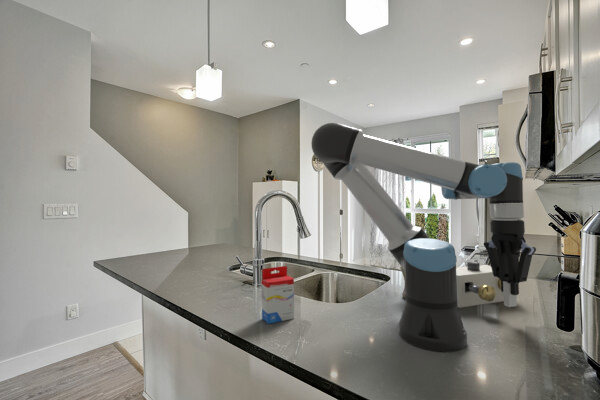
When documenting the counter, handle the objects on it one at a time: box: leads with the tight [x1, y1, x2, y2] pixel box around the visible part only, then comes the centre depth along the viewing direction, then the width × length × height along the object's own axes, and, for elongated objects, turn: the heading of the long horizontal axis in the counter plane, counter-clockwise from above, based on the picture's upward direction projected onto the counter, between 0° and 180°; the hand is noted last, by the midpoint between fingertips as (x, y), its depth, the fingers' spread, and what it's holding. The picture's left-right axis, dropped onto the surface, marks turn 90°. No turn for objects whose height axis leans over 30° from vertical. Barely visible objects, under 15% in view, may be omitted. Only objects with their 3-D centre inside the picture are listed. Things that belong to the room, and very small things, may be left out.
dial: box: [466, 261, 481, 271], centre depth 94 cm, size 4×4×3 cm
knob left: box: [465, 283, 496, 302], centre depth 85 cm, size 4×9×4 cm, turn 16°
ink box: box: [261, 265, 295, 325], centre depth 81 cm, size 8×5×15 cm, turn 117°
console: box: [456, 264, 504, 309], centre depth 94 cm, size 22×9×10 cm, turn 106°
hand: (510, 305), depth 75 cm, fingers closed
